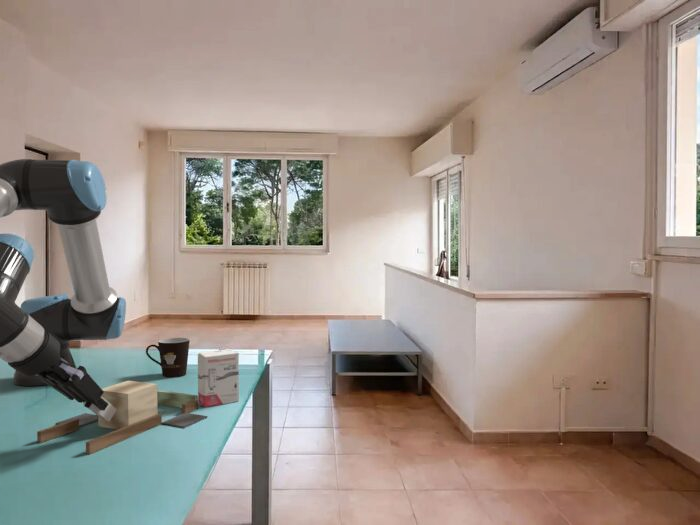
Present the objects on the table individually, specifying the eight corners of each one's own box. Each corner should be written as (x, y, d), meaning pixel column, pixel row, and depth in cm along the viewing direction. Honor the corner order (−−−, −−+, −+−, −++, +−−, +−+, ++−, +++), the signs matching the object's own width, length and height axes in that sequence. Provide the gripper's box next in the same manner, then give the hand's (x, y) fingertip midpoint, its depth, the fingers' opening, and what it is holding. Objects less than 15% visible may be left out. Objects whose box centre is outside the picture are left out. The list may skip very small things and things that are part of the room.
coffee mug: (196, 373, 150) (196, 338, 149) (175, 380, 142) (174, 344, 141) (166, 369, 154) (165, 336, 154) (143, 375, 147) (143, 341, 146)
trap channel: (16, 437, 99) (16, 422, 99) (132, 398, 124) (132, 386, 124) (114, 459, 88) (114, 442, 88) (219, 412, 114) (219, 398, 114)
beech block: (98, 426, 105) (97, 389, 105) (128, 414, 112) (128, 380, 112) (128, 431, 102) (128, 393, 102) (157, 418, 109) (157, 383, 109)
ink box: (203, 408, 117) (203, 356, 116) (197, 402, 121) (196, 352, 120) (240, 401, 122) (239, 351, 121) (232, 396, 126) (231, 348, 125)
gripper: (-15, 361, 87) (76, 427, 102) (36, 368, 81) (123, 437, 97) (16, 325, 91) (98, 394, 107) (66, 330, 86) (145, 402, 102)
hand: (110, 414), depth 102 cm, fingers closed
